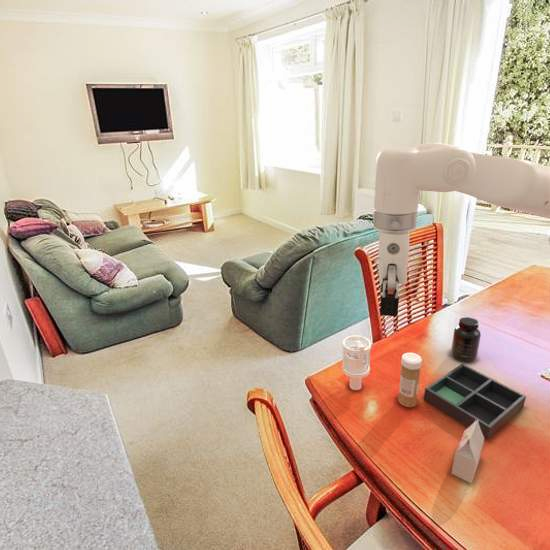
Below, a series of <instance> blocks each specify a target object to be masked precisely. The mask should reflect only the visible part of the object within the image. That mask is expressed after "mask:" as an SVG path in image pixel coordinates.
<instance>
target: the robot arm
mask: <svg viewBox="0 0 550 550" xmlns="http://www.w3.org/2000/svg"><path fill="white" fill-rule="evenodd" d="M423 191H425V192H436V193H452V192H457V193H461V194H465V195H466V196H467V195H468V196H470V197H473V198H475V199H478V200H480V201H482V202H485V203H488V204H491V205H495V206H499V207H500V208H505V209H509V210H514V211H518V212H523V213H527V214H532V215H537V216H540V217H544V218H550V166H549V165H545V164H544V165H543V164H541V163H537V162H534V161H530V160H527V159H521V158H514V157H508V156H498V155H488V154H482V153H477V152H472V151H469V150H467V149H466V148H464V147H462V146H458V145H454V144H448V143H441V142H433V141H431V142H430V141H429V142H423V143H420V144H419V145H417V146H415V147H391V148H385V149H383V150H380V151H379V152H378V154H377V157H376V161H375V181H374V199H373V218H372V221H373V222H372V229H374V230H375V231H376V232H379V236H378V278H379V282H380V292H381V294H380V305H379V315H380V316H385V317H398V315H399V302H400V296H399V285H403V286H406V284H407V283H408V270H409V269H408V267H409V255H410V253H409V252H410V233H411V232H414V231H415V230H417V223H418V222H417V221H418V209H419V199H420V192H423ZM547 242H548V244H549V245H550V230H549V231H548V233H547Z"/></svg>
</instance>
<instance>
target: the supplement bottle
mask: <svg viewBox="0 0 550 550" xmlns="http://www.w3.org/2000/svg"><path fill="white" fill-rule="evenodd" d="M480 341H481V331H480V329H479V321H478V320H477V319H476V318H474V317H470V316H462V317H461V318H459V323H458V325H457V326H455V328H454V330H453V335H452V341H451V349H450V354H451V355H450V356H452V358H453V359H455V360H456V361H459V362H462V363H467V364H468V363H472V362H475V361H476V360H477V357H478V352H479V348H480Z"/></svg>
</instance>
